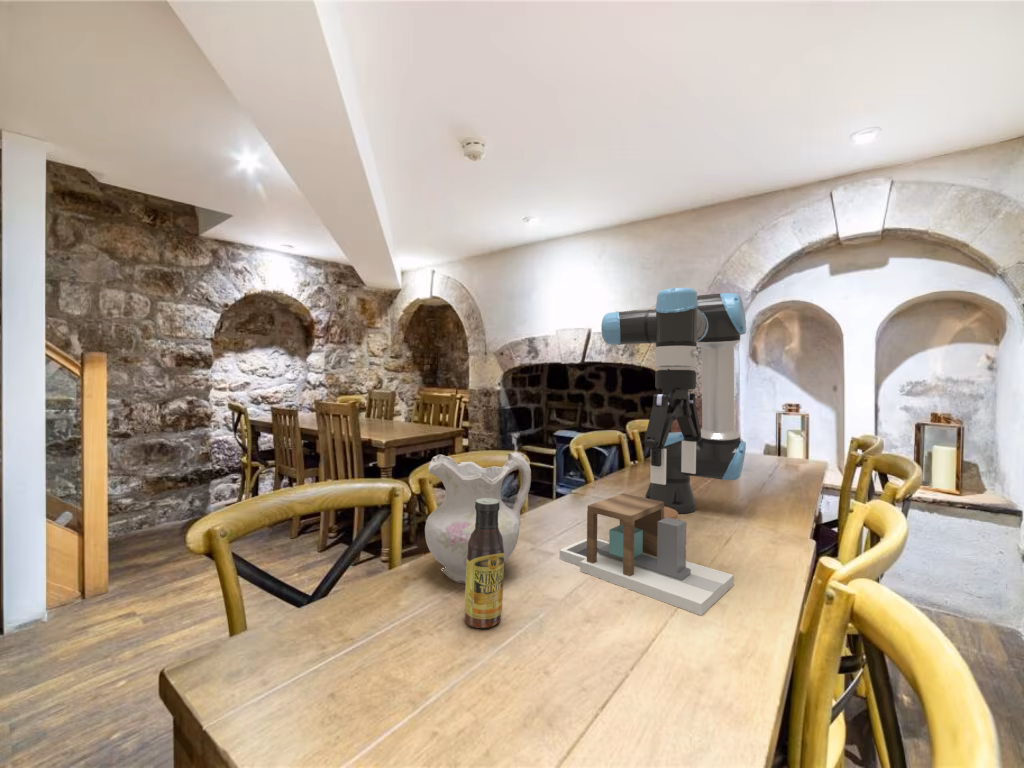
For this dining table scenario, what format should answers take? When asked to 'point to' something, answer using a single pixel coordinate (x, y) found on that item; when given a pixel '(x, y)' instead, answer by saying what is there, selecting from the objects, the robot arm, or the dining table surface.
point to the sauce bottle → (484, 567)
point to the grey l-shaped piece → (664, 550)
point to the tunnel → (626, 525)
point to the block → (617, 541)
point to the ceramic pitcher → (471, 509)
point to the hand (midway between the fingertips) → (674, 477)
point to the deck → (655, 579)
